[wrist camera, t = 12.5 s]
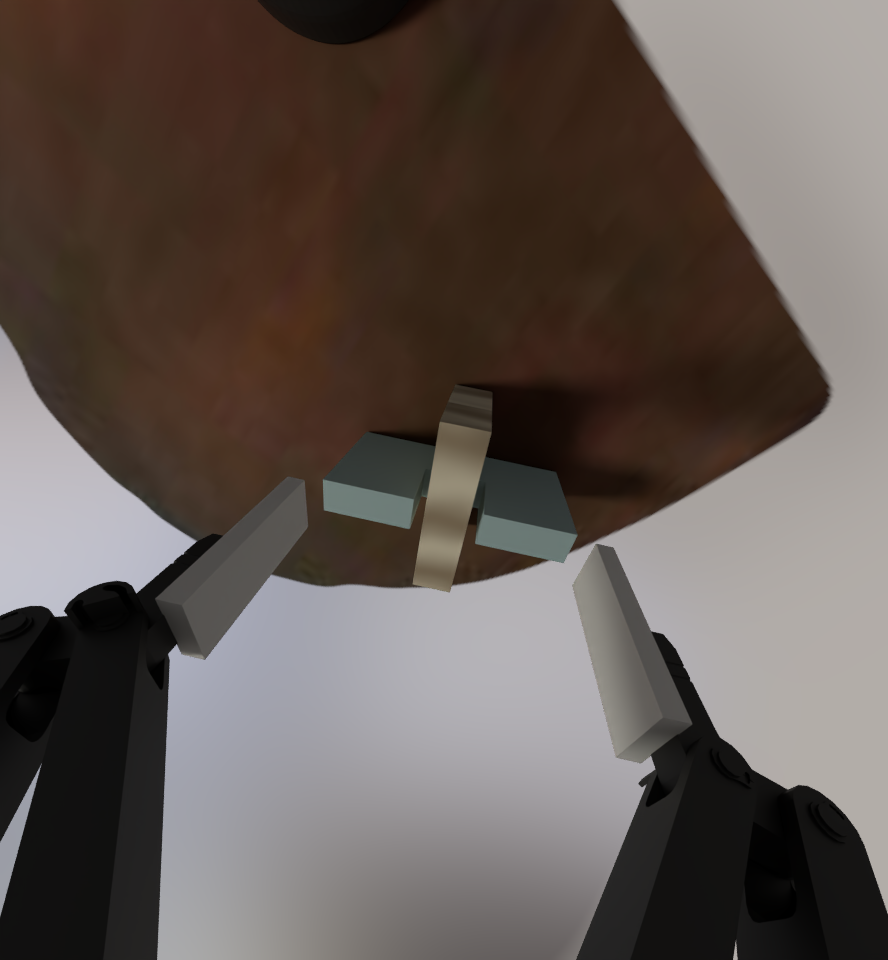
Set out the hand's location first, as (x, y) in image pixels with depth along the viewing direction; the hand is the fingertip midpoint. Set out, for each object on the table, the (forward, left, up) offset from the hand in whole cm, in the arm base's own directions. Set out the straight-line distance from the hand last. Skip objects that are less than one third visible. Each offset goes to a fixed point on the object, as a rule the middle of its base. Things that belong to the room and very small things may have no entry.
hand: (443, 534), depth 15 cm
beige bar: (+6, 0, -19) cm, 20 cm away
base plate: (+6, 0, -19) cm, 20 cm away
